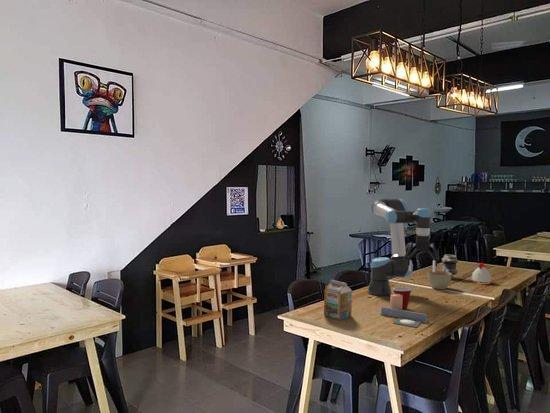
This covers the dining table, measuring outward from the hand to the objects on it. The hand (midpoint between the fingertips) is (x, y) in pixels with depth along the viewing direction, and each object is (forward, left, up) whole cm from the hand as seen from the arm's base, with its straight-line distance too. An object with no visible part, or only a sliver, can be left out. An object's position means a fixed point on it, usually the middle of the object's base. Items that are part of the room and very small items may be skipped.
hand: (421, 271), depth 248 cm
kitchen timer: (+22, +98, -22) cm, 103 cm away
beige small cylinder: (-9, -17, -22) cm, 29 cm away
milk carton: (-34, -41, -22) cm, 58 cm away
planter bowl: (-1, +60, -22) cm, 64 cm away
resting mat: (+1, -31, -22) cm, 38 cm away
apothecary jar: (-1, +99, -22) cm, 101 cm away
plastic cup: (-9, -6, -22) cm, 25 cm away
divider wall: (-3, -24, -22) cm, 33 cm away
